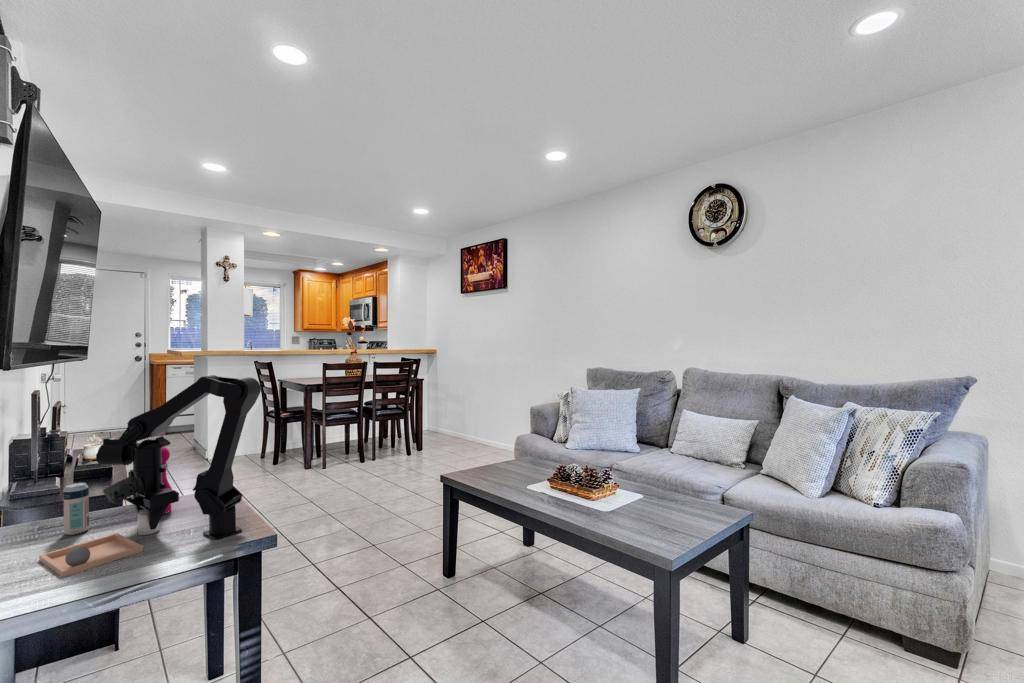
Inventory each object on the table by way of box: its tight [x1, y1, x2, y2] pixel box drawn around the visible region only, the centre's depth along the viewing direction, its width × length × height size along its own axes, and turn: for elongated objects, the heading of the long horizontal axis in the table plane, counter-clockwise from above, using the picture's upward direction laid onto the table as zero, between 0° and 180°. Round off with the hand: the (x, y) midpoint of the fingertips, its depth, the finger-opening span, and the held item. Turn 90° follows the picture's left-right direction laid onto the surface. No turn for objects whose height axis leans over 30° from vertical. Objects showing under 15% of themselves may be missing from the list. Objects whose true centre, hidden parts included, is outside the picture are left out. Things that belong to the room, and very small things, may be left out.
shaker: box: [136, 508, 161, 536], centre depth 122 cm, size 4×4×6 cm
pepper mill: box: [160, 446, 173, 514], centre depth 136 cm, size 7×7×20 cm
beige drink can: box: [62, 482, 90, 536], centre depth 123 cm, size 5×5×12 cm
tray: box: [38, 532, 144, 578], centre depth 109 cm, size 14×14×2 cm
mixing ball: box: [65, 546, 90, 567], centre depth 104 cm, size 4×4×4 cm
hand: (148, 527), depth 122 cm, fingers closed on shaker, 4 cm apart
